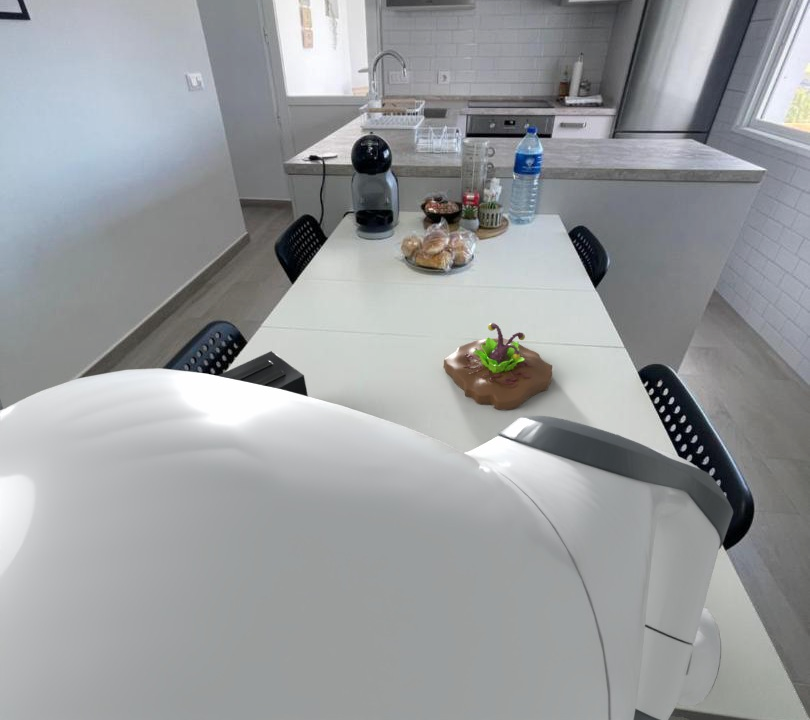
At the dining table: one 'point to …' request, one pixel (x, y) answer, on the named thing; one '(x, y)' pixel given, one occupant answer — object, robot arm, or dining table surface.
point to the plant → (498, 371)
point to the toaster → (269, 374)
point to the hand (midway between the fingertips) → (387, 501)
